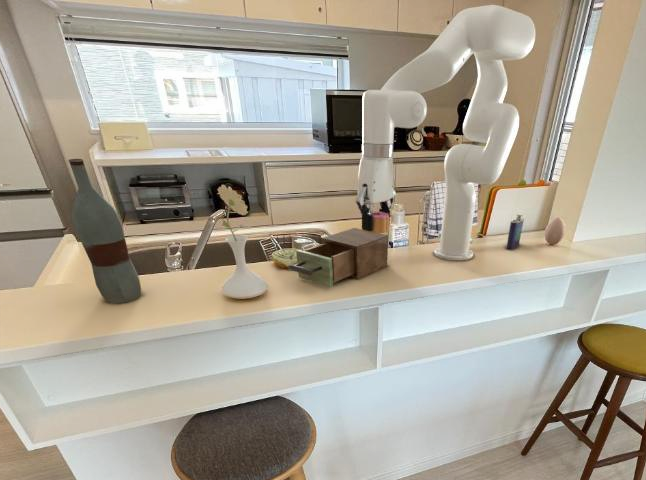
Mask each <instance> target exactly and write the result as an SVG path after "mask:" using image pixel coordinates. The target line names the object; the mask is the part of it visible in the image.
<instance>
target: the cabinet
mask: <svg viewBox="0 0 646 480" xmlns="http://www.w3.org/2000/svg"><path fill="white" fill-rule="evenodd" d="M327 242H329V243H333V244H337V245H341V246H346V247H350V248H354V249H355V274H353V275H351V276H348V277H347V278H352V279H356V280H359V279H361V278H364V277H365V276H368V275H370V274H373V273H374V272H377V271H379V270H382V269H383V268H385V267H388V258H389V257H388V256H389V254H388V253H389V234H386V233H368V232H366V231H363V230H362V228H357V227H351V228H349V229H346V230H343V231H340V232H337V233H334V234H329V235H327V236H324V237H321V244H324V243H327Z"/></svg>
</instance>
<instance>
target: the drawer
mask: <svg viewBox="0 0 646 480" xmlns="http://www.w3.org/2000/svg"><path fill="white" fill-rule="evenodd" d="M296 254H297V264H296V265H292V264H290V265H289V267H288V268H287V269H288V270H289V271H292V272H296V273H298V275H297V276H298V278H299V279H303V280H306V281H310V282H313V283H316V284H320V285H322V286H325V287H329V288H331V287H333V286H334V283H336V282H339V281H341V280H343V279H346V278H349V277H348V276H351V275H353V274H355V249H354V248H350V247H346V246H341V245H337V244H333V243H329V242H327V243H324V244H322V243H321V244H318V245H315V246H312V247H309V248H306V249H300V250H297V251H296Z"/></svg>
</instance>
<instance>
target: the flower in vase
mask: <svg viewBox="0 0 646 480" xmlns="http://www.w3.org/2000/svg"><path fill="white" fill-rule="evenodd" d="M217 191H218V194H219V197H220V199H221V200H222V201H224V203H225V204H226V205H227V213H226V215H227V216H226V220H224V219H222V224H221V225H222V226H223V227H226V228H227V229H228V230H230V232H231V236H228V237H226V238H225V242H226V243H228V245H229V246H230V248H231V250H232V252H233V256H234V259H235V265H236V266H235V271H234V272H233V273H232V274H231V275H230V276H229V277H228V278H226V280H225V281H224V282H223V283H222V285H221V289H220V291H221V293H223V295H224V296H226V297H228V298H232V299H238V300H239V299H241V300H243V299H244V300H246V299H252V298H257V297H259V296H262V295H264V294H265V293H266V292H267V291H268V289H269V284H268V283H267V281H266V280H265V279H263V277H261V276H259V275H258V274H256V273H254V272H252V270H250V269H249V268H248V266H247V263H246V257H245V249H246V248H245V247H246V243H247V241H248V239H249V238H248V237H247V236H244V235H235V232H236V231H238V230H239V229H240V228H242V227H243V224H242V223H241V224H240V225H239V226H237V227H236V228H235V229H232V227H231V225H230V222H229V216H230V210H232V211H233V212H236V213H237V214H238V215H241V216H246V215H247V214H249V211H248V208H249V207H248V205H246V204H245V203H246V202H245V200H243V196H242V195H241V194H238V193H237V191H236V190H233V189H232V187H231V186H226V184H221V186H218V188H217Z"/></svg>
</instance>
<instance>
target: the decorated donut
mask: <svg viewBox="0 0 646 480" xmlns="http://www.w3.org/2000/svg"><path fill="white" fill-rule="evenodd" d="M297 250H301V249H299V248H293V247H292V248H290V247H289V248H281V249H278V250H276V251H274V252H272V253H271V260H272V261H273V263H274V265H275V266H277V267H278V268H281V269H289V268H288V267H289V265H290V264H292V265H296V264H297V254H296V251H297Z"/></svg>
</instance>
